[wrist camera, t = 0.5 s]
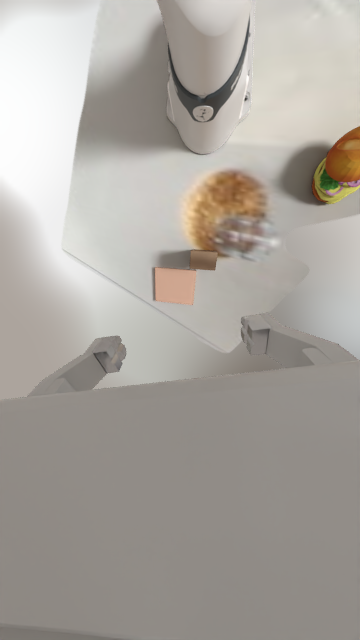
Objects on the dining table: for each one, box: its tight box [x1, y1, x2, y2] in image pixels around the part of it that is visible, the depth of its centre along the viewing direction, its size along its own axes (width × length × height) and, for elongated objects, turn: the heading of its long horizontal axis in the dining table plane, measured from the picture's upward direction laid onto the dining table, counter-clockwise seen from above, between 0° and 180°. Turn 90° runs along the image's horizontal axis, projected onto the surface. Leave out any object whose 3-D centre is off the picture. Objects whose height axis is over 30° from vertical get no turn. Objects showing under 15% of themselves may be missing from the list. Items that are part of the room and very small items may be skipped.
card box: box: [190, 250, 218, 270], centre depth 45 cm, size 4×7×9 cm, turn 87°
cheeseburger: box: [312, 126, 360, 204], centre depth 33 cm, size 10×11×10 cm
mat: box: [155, 267, 196, 305], centre depth 54 cm, size 12×14×1 cm
